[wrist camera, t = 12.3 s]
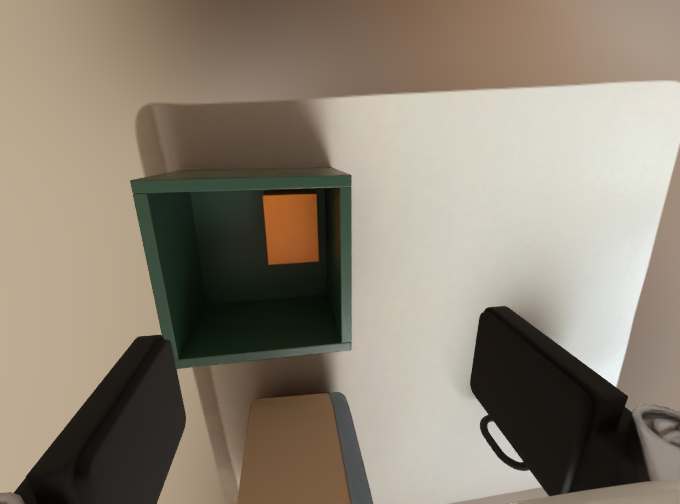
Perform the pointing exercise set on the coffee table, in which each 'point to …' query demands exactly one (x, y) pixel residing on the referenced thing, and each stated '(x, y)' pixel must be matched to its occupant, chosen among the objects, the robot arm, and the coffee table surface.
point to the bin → (244, 265)
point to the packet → (291, 225)
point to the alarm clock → (302, 453)
